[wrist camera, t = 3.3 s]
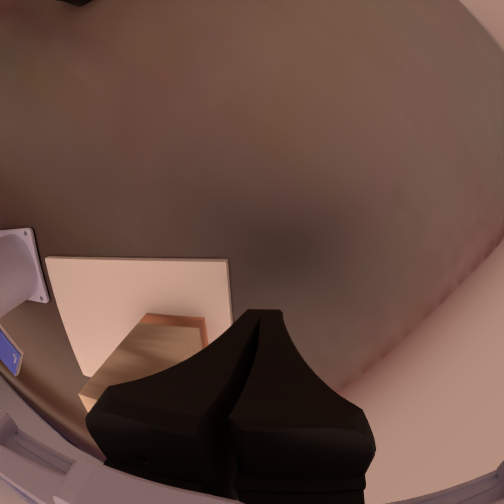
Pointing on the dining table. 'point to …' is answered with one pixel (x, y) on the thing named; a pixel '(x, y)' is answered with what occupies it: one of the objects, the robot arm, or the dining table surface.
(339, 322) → the dining table surface
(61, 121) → the dining table surface
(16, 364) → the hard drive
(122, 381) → the birch block
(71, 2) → the green elephant figurine
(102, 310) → the beige mat
